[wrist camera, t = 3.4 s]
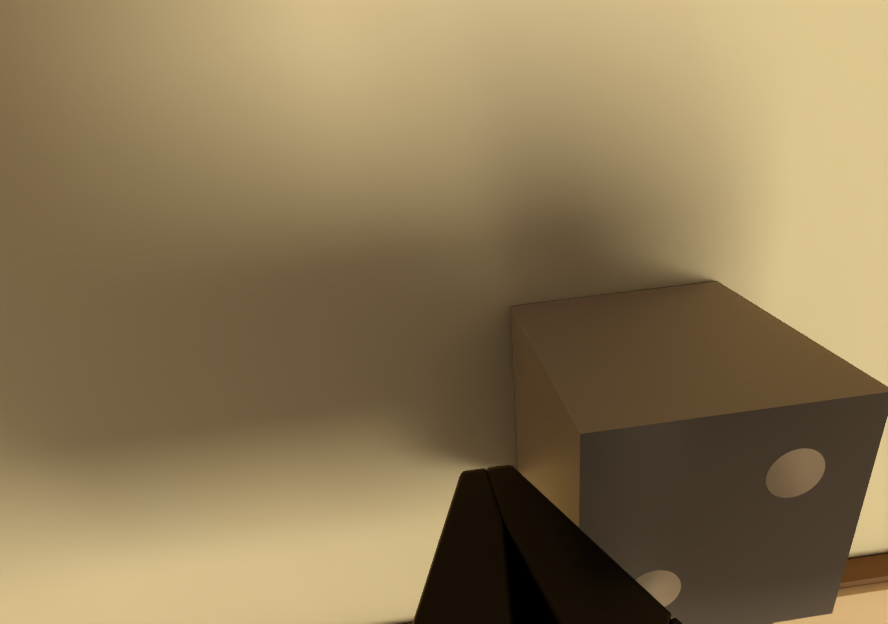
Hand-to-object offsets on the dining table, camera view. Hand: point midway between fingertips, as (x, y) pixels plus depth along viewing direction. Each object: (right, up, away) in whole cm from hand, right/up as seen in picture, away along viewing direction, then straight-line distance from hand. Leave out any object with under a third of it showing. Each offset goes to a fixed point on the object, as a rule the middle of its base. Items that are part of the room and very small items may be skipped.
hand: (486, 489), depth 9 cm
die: (+3, +1, +3) cm, 4 cm away
